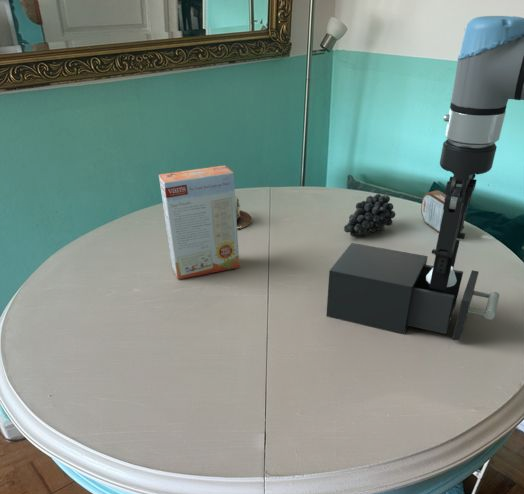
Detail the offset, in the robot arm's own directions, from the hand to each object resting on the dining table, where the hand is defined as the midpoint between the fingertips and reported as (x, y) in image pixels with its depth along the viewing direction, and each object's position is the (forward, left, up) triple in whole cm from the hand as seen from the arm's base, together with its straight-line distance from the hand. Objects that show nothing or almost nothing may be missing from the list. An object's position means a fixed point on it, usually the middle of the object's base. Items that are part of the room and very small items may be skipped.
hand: (440, 280), depth 90 cm
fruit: (+23, -34, -9) cm, 42 cm away
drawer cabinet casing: (+11, 0, -8) cm, 14 cm away
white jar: (0, 0, 0) cm, 0 cm away
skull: (+57, -26, -9) cm, 63 cm away
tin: (+7, -42, -9) cm, 44 cm away
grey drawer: (-1, 0, -8) cm, 8 cm away
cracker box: (+49, -1, -9) cm, 50 cm away
